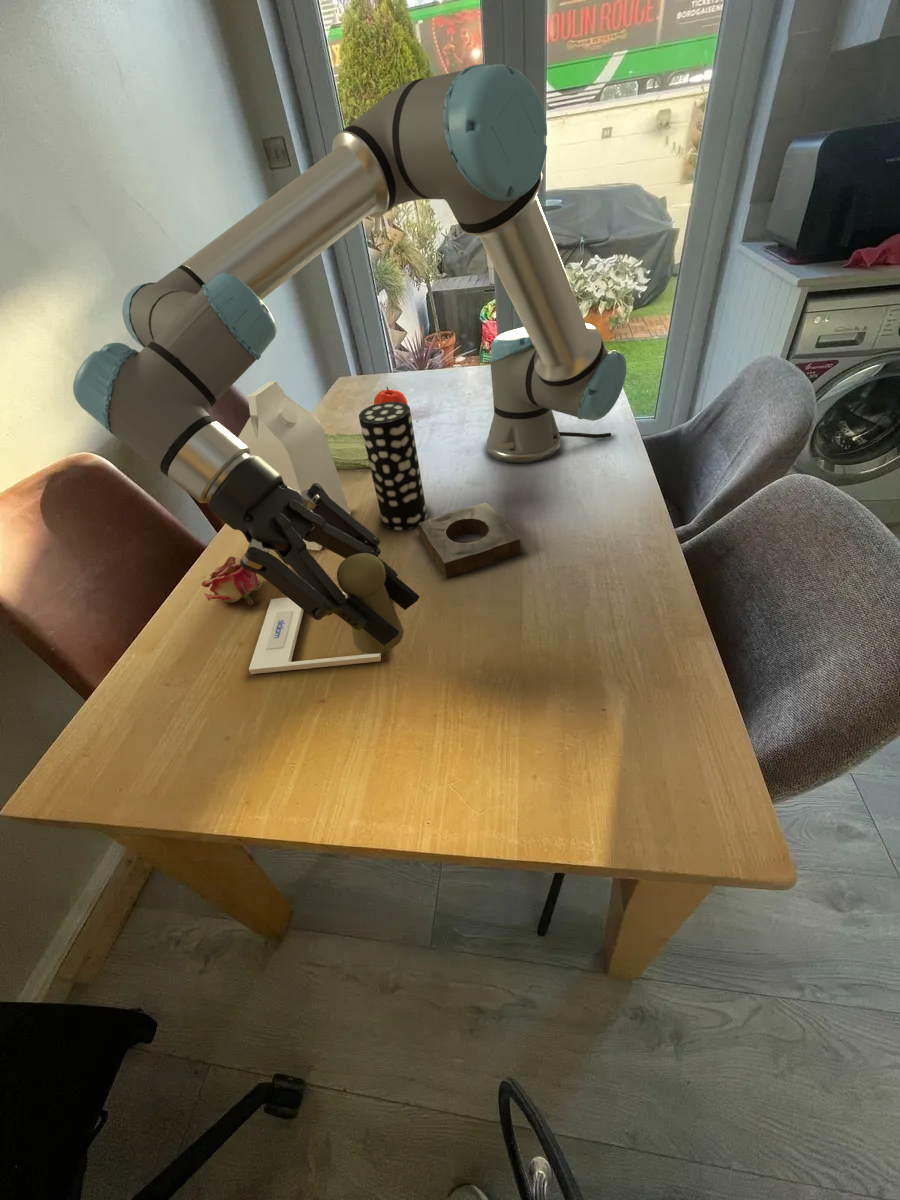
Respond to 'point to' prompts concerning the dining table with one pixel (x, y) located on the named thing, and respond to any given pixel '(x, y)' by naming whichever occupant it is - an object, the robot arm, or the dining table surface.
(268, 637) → the photo frame
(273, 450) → the milk
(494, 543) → the ring plate
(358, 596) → the wooden peg doll
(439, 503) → the dining table surface
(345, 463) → the washcloth
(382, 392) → the apple
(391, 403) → the spotted tube
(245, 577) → the flower
